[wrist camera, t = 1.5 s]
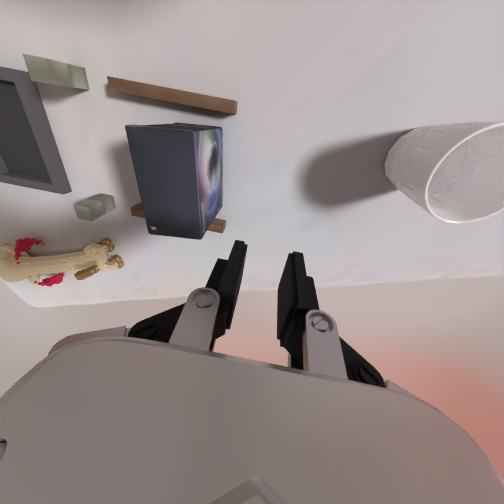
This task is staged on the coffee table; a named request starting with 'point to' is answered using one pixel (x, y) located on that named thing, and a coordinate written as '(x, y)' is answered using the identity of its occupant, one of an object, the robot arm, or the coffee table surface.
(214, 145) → the small box
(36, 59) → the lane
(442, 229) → the coffee table surface
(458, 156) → the white cup
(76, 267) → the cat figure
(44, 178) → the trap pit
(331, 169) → the coffee table surface
